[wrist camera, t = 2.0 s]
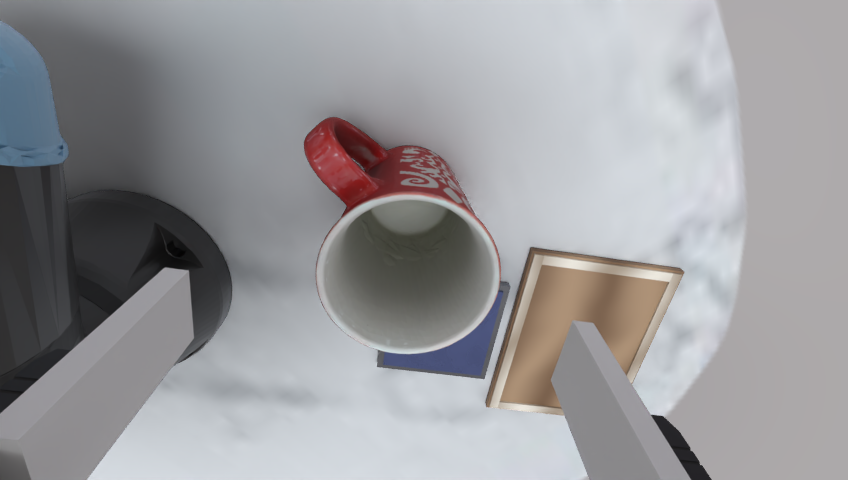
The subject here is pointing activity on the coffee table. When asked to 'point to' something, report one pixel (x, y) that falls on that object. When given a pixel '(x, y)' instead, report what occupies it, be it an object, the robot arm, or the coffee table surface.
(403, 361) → the ink pad
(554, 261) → the board
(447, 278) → the mug
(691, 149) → the coffee table surface
